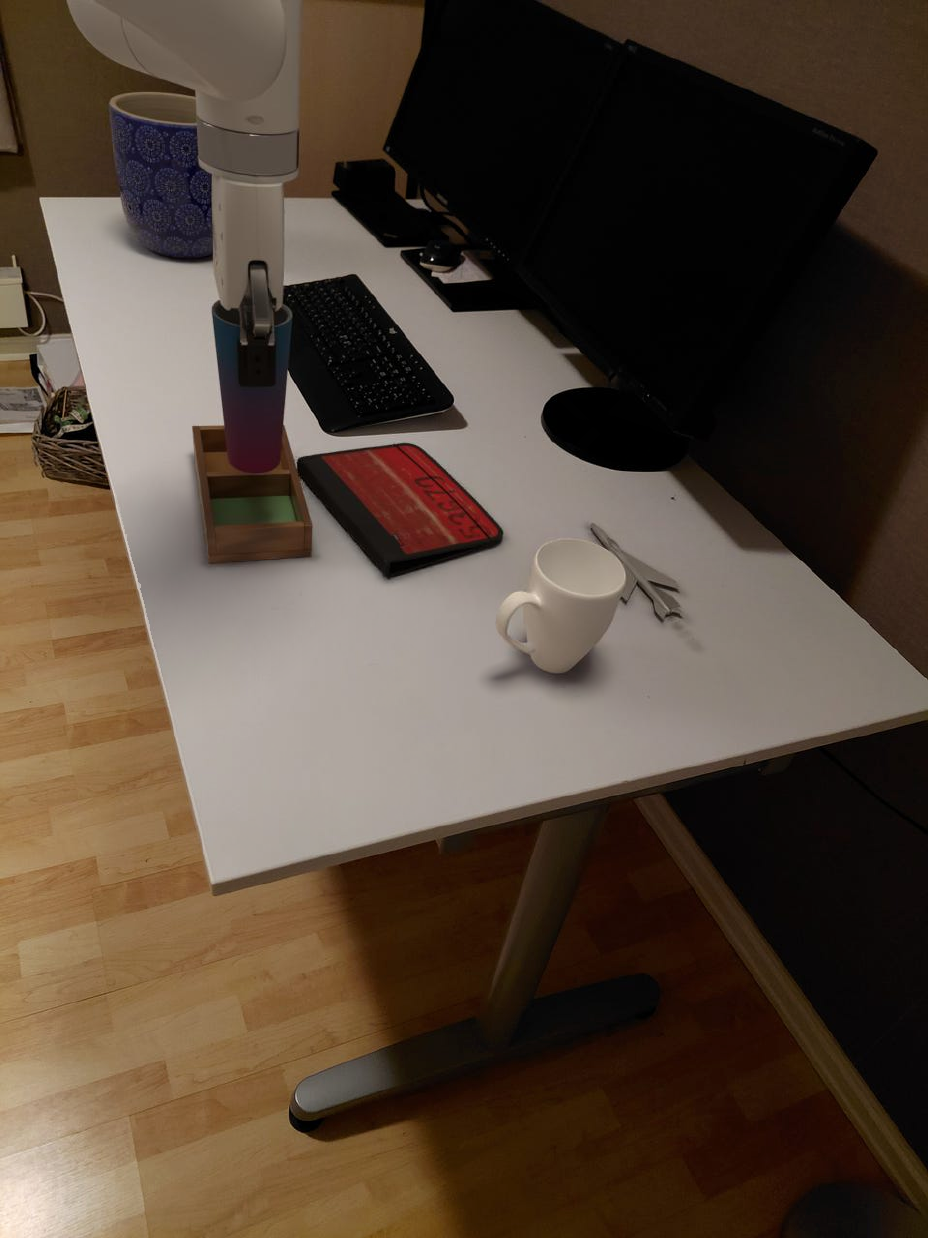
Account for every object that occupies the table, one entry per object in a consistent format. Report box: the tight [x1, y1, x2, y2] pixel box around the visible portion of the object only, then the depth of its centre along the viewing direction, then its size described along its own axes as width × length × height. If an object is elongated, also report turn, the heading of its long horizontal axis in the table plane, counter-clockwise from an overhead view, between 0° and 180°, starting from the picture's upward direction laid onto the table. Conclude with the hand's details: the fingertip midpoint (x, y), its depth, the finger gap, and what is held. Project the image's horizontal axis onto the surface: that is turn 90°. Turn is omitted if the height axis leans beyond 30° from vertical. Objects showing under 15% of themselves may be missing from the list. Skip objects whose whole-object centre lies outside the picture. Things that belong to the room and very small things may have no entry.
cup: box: [211, 298, 293, 473], centre depth 78 cm, size 7×7×15 cm
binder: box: [296, 442, 504, 579], centre depth 95 cm, size 16×2×21 cm
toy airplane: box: [590, 522, 699, 646], centre depth 91 cm, size 8×21×2 cm, turn 25°
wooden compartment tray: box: [191, 424, 314, 564], centre depth 91 cm, size 10×20×4 cm, turn 17°
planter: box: [108, 91, 213, 259], centre depth 135 cm, size 18×18×21 cm
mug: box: [495, 537, 626, 674], centre depth 77 cm, size 12×8×11 cm
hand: (252, 364), depth 76 cm, fingers closed on cup, 6 cm apart
